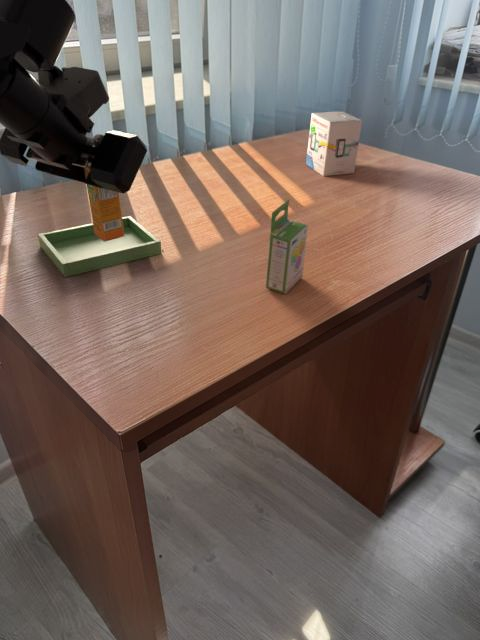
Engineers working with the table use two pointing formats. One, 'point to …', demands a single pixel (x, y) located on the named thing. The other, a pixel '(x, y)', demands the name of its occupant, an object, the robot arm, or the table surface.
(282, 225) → the ink box
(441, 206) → the table surface
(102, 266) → the green tray
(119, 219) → the supplement box
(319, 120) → the ink box
